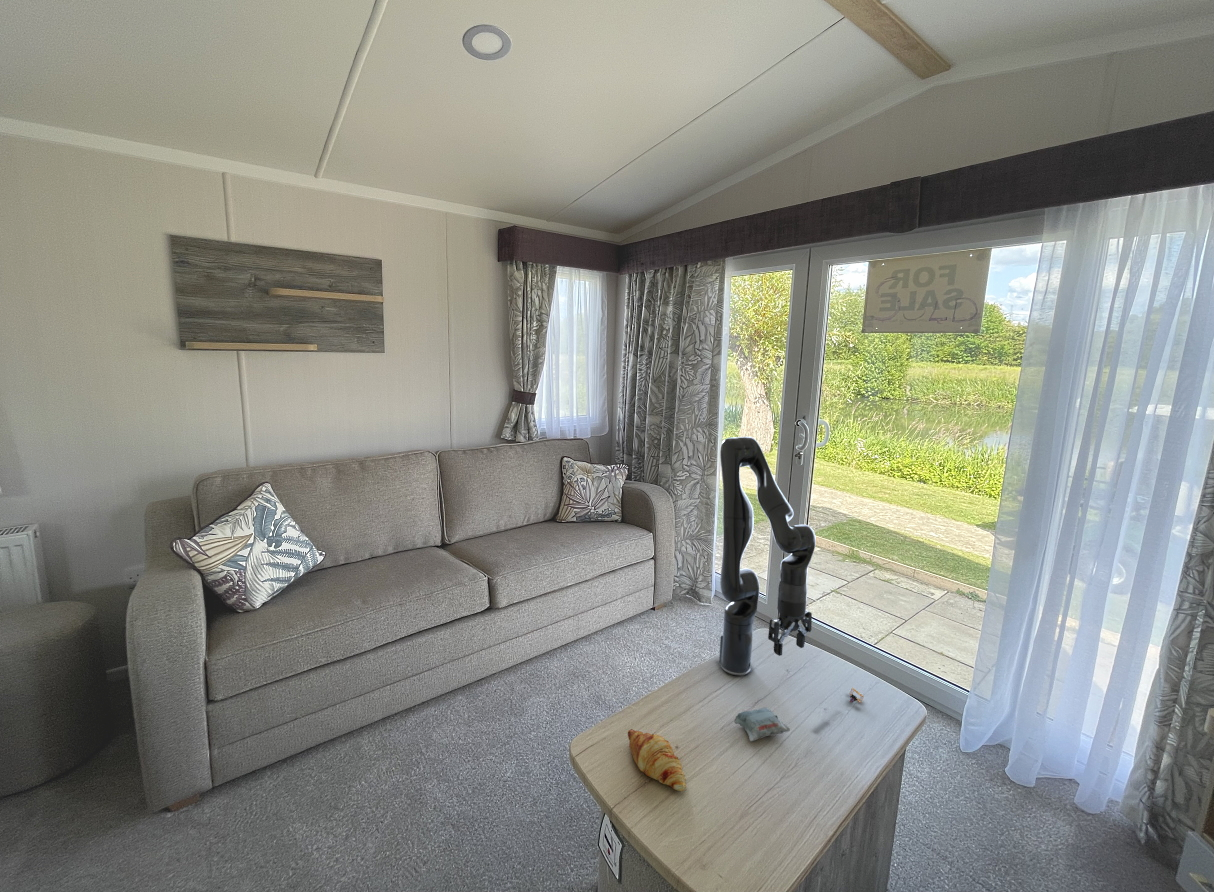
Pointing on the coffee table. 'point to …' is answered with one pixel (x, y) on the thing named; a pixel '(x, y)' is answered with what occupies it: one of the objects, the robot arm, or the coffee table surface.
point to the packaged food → (760, 723)
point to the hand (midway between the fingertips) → (789, 650)
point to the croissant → (656, 759)
